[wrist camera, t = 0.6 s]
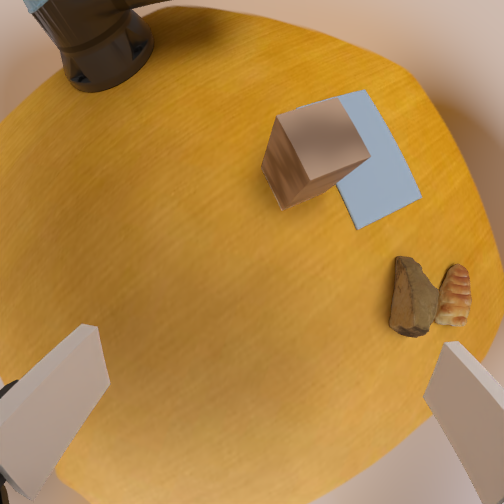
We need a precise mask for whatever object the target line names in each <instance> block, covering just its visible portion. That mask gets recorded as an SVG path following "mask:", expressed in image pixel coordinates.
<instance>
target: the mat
mask: <svg viewBox="0 0 504 504" xmlns="http://www.w3.org/2000/svg"><path fill="white" fill-rule="evenodd" d="M337 97H338V99H339V100H340V102H341V104H342V105H343V107H344V109H345V110H346V112H347V114H348V115H349V117H350V119H351V120H352V122H353V124H354V126H355V127H356V129H357V131H358V133H359V135H360V136H361V138H362V140H363V142H364V144H365V146H366V148H367V149H368V151H369V153H370V155H371V157H370V158H369V159H367V160H366V161H365V162H363V163H362V164H361V165H360V166H358V167H357V168H356V169H354V170H353V171H352V172H350V173H349V174H348V175H347V176H345V177H344V178H343V179H341V180H340V181H339V182H337V183H336V186H337V188H338V190H339V192H340V194H341V196H342V199H343V201H344V203H345V205H346V207H347V209H348V212H349V214H350V216H351V218H352V220H353V223H354V225H355V227H356V229H357V230H358V229H360V228H362V227H364V226H366V225H368V224H370V223H372V222H374V221H376V220H378V219H380V218H382V217H384V216H386V215H388V214H390V213H392V212H394V211H396V210H398V209H400V208H402V207H404V206H406V205H408V204H410V203H412V202H414V201H416V200H418V199H420V198H422V196H421V193H420V191H419V189H418V187H417V184H416V182H415V180H414V178H413V176H412V173H411V171H410V169H409V167H408V165H407V163H406V161H405V159H404V157H403V155H402V153H401V151H400V149H399V147H398V145H397V143H396V141H395V140H394V138H393V136H392V134H391V132H390V130H389V129H388V127H387V125H386V123H385V122H384V120H383V118H382V116H381V115H380V113H379V111H378V110H377V108H376V106H375V105H374V103H373V101H372V100H371V98H370V97H369V95H368V94H367V92H366V90H361V91H357V92H353V93H349V94H345V95H341V96H337ZM337 97H333V98H337ZM333 98H329V99H333ZM329 99H326V100H329ZM326 100H322V101H326ZM322 101H319V102H322ZM319 102H315V103H319ZM315 103H312V104H315ZM312 104H308V105H312ZM308 105H305V106H308ZM305 106H302V107H305ZM302 107H298V108H296V109H299V108H302Z"/></svg>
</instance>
